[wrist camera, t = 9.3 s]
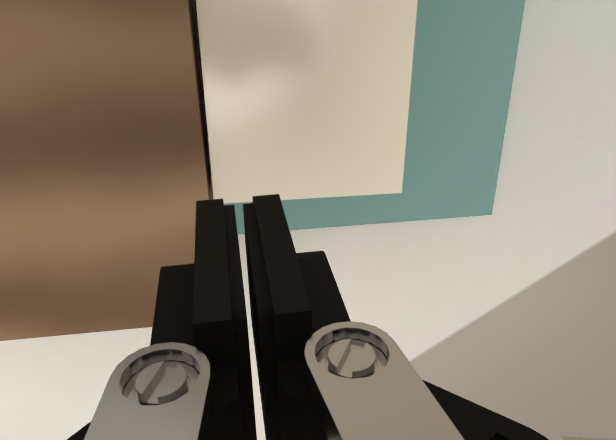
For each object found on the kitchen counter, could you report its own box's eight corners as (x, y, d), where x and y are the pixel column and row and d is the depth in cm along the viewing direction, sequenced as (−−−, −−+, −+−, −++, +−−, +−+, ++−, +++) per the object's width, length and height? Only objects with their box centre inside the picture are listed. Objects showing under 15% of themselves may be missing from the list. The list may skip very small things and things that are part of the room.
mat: (188, -182, 19) (187, -185, 18) (546, -179, 20) (553, -182, 20) (226, 229, 26) (227, 234, 26) (487, 210, 28) (491, 214, 27)
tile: (198, -9, 21) (195, -5, 19) (402, -12, 22) (418, -8, 20) (214, 185, 24) (214, 203, 23) (389, 175, 25) (401, 192, 24)
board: (-266, -148, 18) (-353, -164, 15) (177, -147, 19) (169, -161, 17) (-78, 309, 26) (-113, 351, 23) (221, 283, 27) (221, 320, 25)
